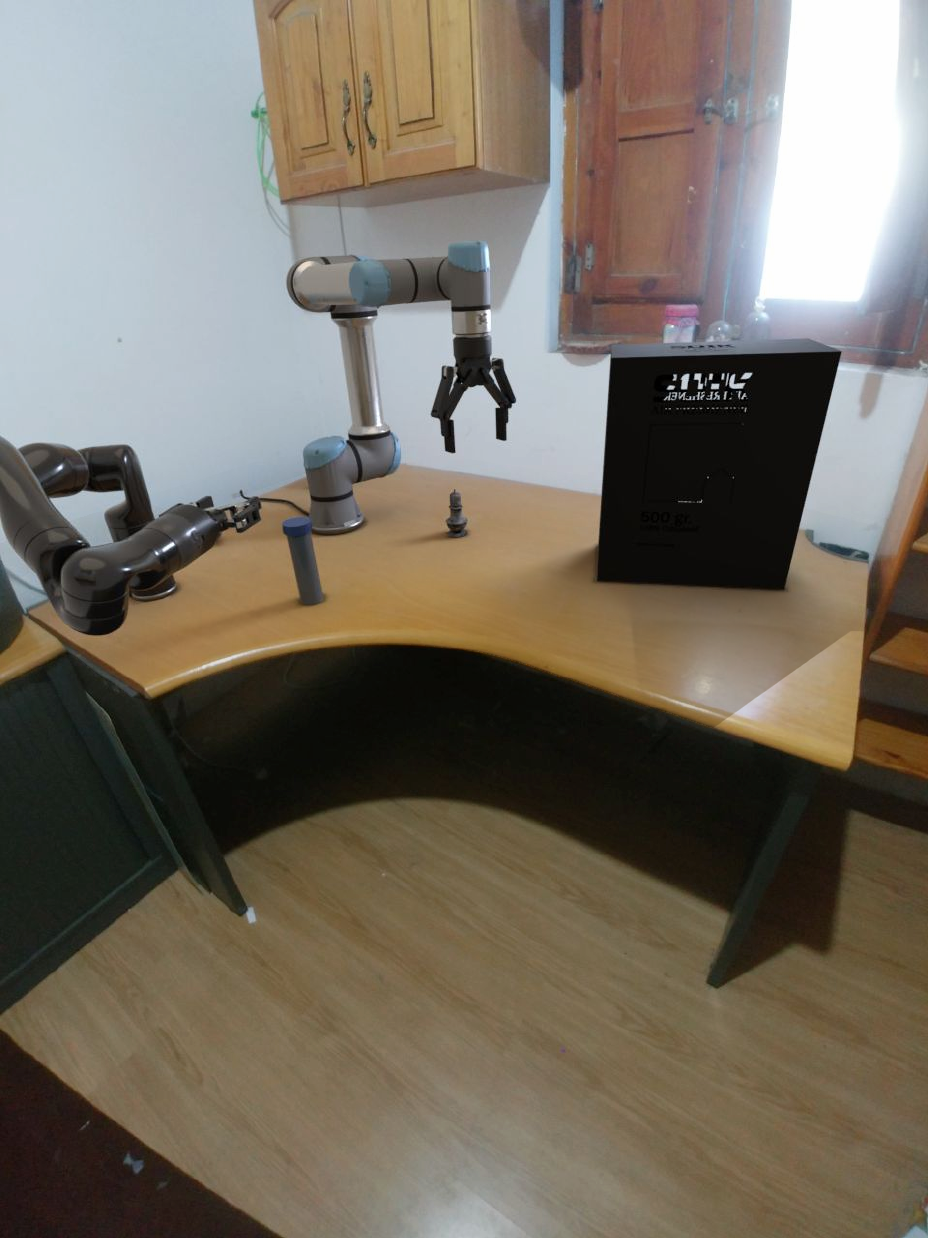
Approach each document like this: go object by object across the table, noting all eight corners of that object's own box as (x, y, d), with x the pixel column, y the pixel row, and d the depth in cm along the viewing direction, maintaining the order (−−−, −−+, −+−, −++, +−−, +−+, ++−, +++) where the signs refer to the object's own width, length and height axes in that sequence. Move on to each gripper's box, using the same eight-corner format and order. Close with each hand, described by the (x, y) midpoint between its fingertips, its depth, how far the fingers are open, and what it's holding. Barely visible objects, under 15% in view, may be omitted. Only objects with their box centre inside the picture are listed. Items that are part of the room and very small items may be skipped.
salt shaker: (466, 537, 156) (463, 492, 150) (444, 537, 157) (440, 492, 151) (470, 529, 161) (468, 485, 155) (449, 528, 162) (446, 485, 156)
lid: (312, 524, 126) (310, 515, 125) (312, 534, 121) (310, 524, 120) (284, 528, 125) (282, 518, 124) (283, 538, 120) (281, 528, 119)
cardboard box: (763, 549, 141) (808, 338, 118) (784, 589, 124) (841, 351, 101) (598, 544, 148) (611, 344, 126) (596, 581, 131) (611, 357, 109)
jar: (323, 592, 133) (308, 518, 125) (323, 602, 129) (308, 526, 121) (300, 596, 133) (284, 521, 124) (300, 606, 129) (284, 529, 120)
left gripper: (141, 561, 89) (201, 522, 103) (228, 564, 87) (278, 523, 100) (124, 513, 86) (189, 479, 99) (214, 515, 83) (269, 479, 97)
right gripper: (429, 342, 108) (437, 460, 118) (533, 329, 120) (532, 437, 131) (407, 340, 113) (417, 454, 124) (508, 328, 125) (510, 432, 136)
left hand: (234, 501), depth 100 cm, fingers open, 8 cm apart
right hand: (476, 445), depth 127 cm, fingers open, 13 cm apart
